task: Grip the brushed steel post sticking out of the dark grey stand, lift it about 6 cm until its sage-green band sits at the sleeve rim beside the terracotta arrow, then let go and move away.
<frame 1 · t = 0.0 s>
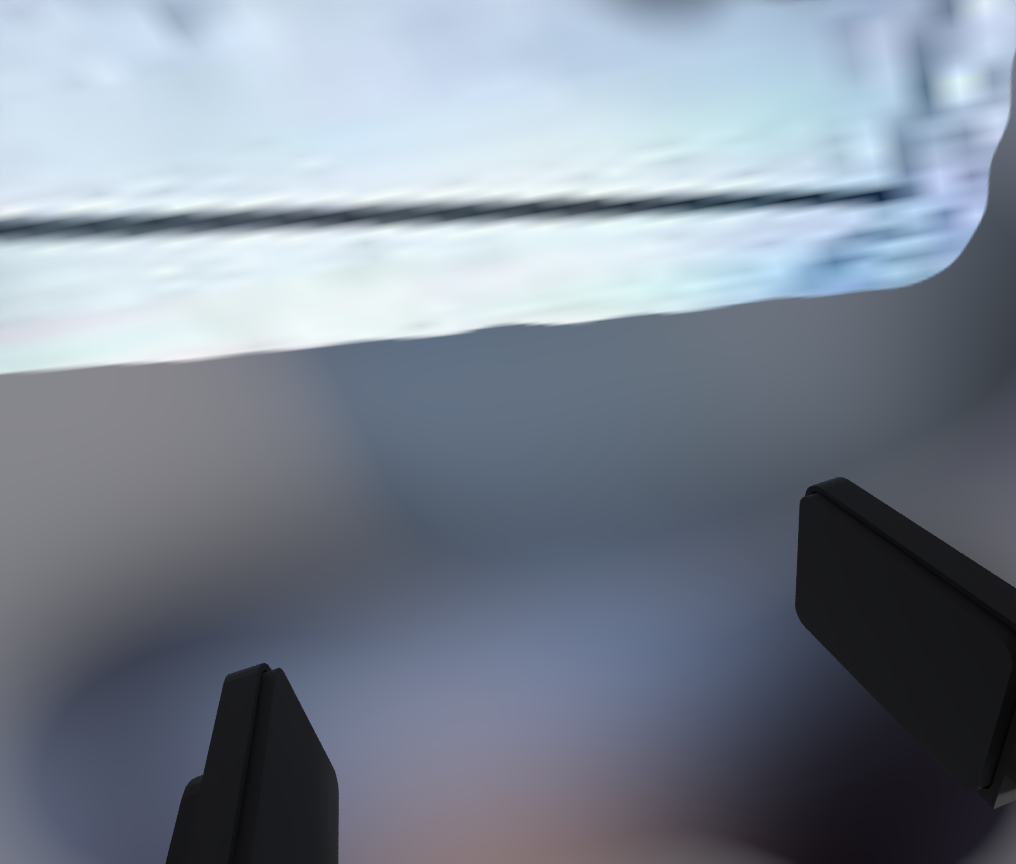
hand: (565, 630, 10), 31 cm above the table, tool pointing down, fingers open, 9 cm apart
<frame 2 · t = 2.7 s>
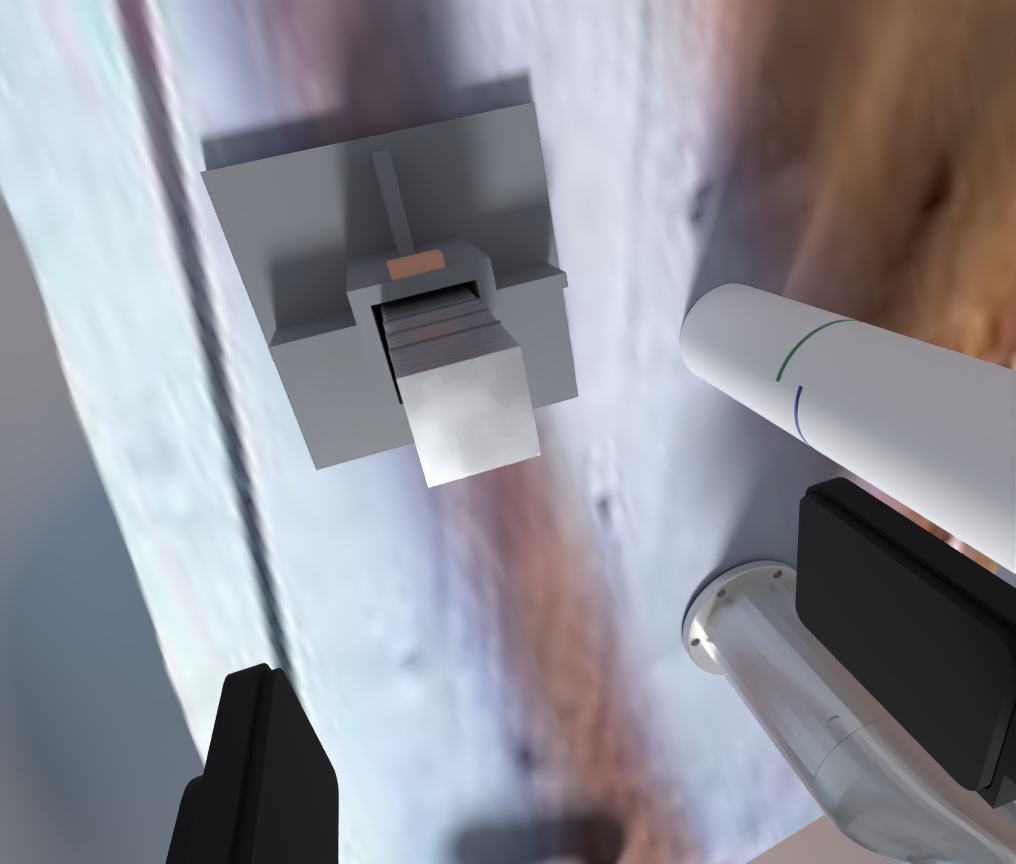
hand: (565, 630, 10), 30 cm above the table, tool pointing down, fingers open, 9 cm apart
steel post: (437, 343, 28), point 11 cm above the table, slide at 0.0 cm
cylindrical container: (723, 332, 44), on the table
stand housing: (414, 295, 37), on the table
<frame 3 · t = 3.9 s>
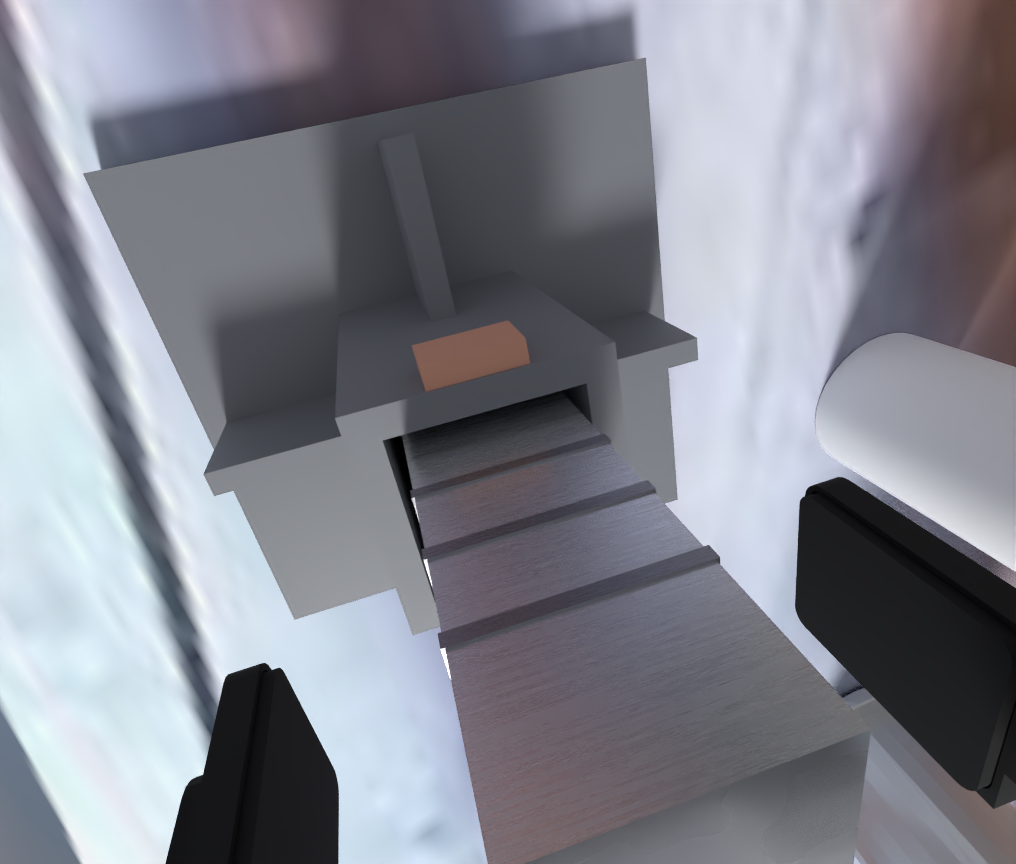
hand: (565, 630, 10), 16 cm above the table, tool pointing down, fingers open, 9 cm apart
steel post: (506, 498, 15), point 11 cm above the table, slide at 0.0 cm
cylindrical container: (873, 399, 31), on the table
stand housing: (442, 361, 24), on the table
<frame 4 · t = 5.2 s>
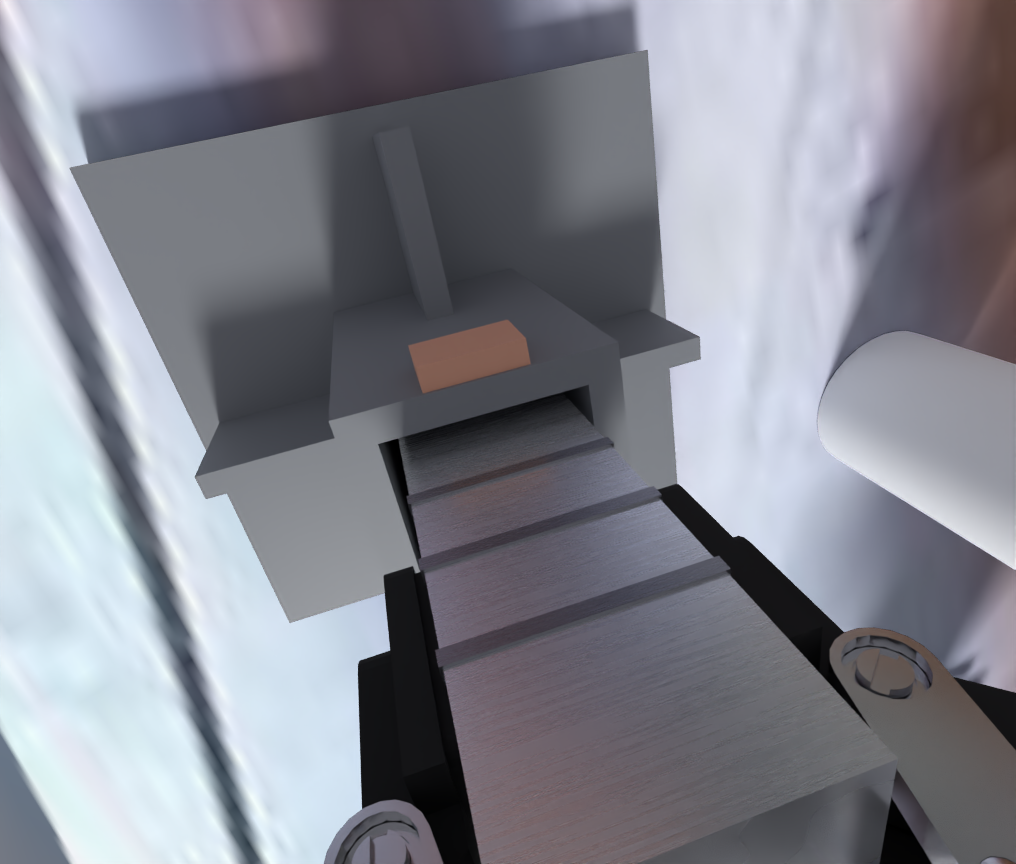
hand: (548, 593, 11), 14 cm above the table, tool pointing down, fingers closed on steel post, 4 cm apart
steel post: (506, 502, 14), point 11 cm above the table, slide at 0.0 cm, touching gripper
cylindrical container: (876, 398, 31), on the table
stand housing: (439, 360, 24), on the table
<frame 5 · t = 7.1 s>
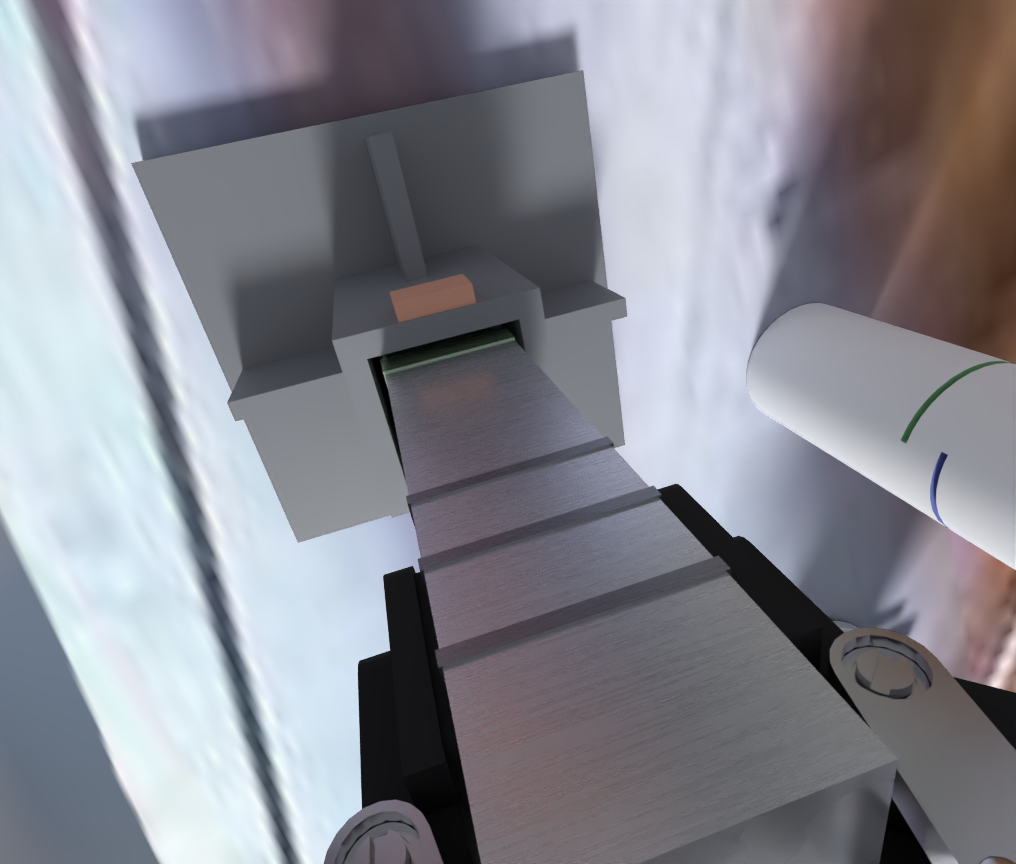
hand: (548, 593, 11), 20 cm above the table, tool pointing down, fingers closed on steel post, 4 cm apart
steel post: (505, 502, 14), point 17 cm above the table, slide at 5.9 cm, touching gripper
cylindrical container: (798, 362, 36), on the table
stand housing: (421, 322, 29), on the table
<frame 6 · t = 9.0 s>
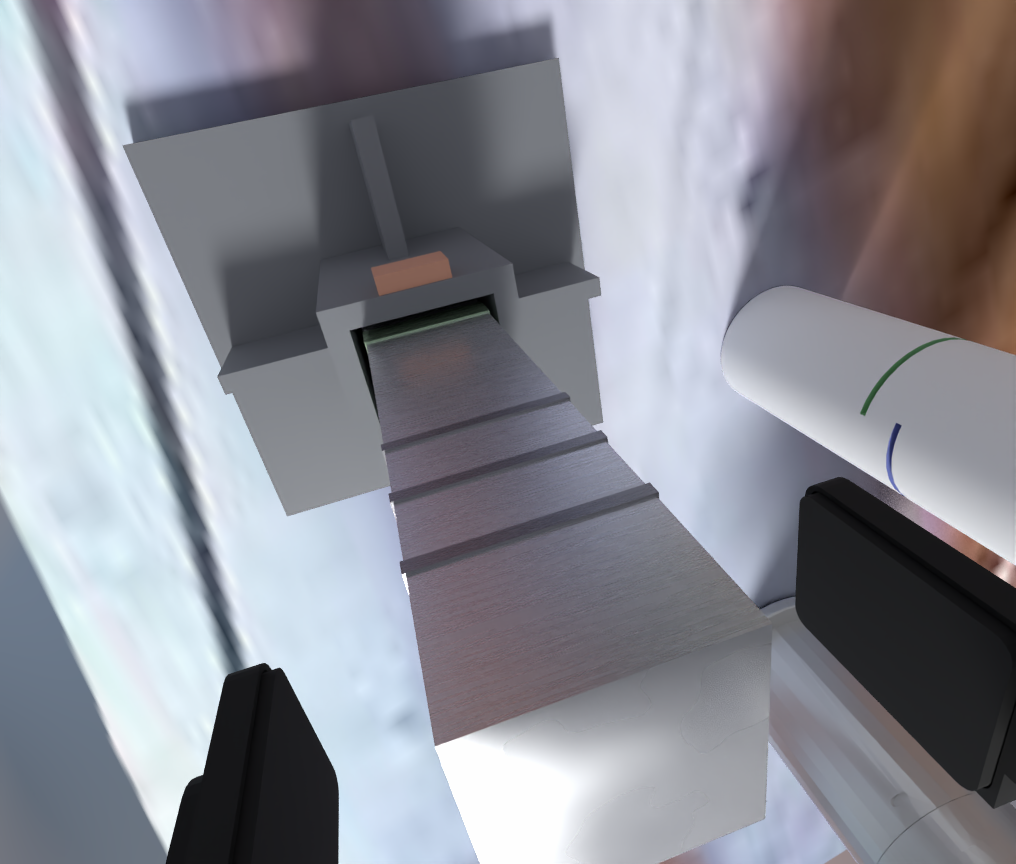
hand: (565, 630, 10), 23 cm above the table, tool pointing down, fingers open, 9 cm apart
steel post: (476, 458, 15), point 17 cm above the table, slide at 5.9 cm
cylindrical container: (770, 343, 37), on the table
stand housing: (405, 303, 30), on the table
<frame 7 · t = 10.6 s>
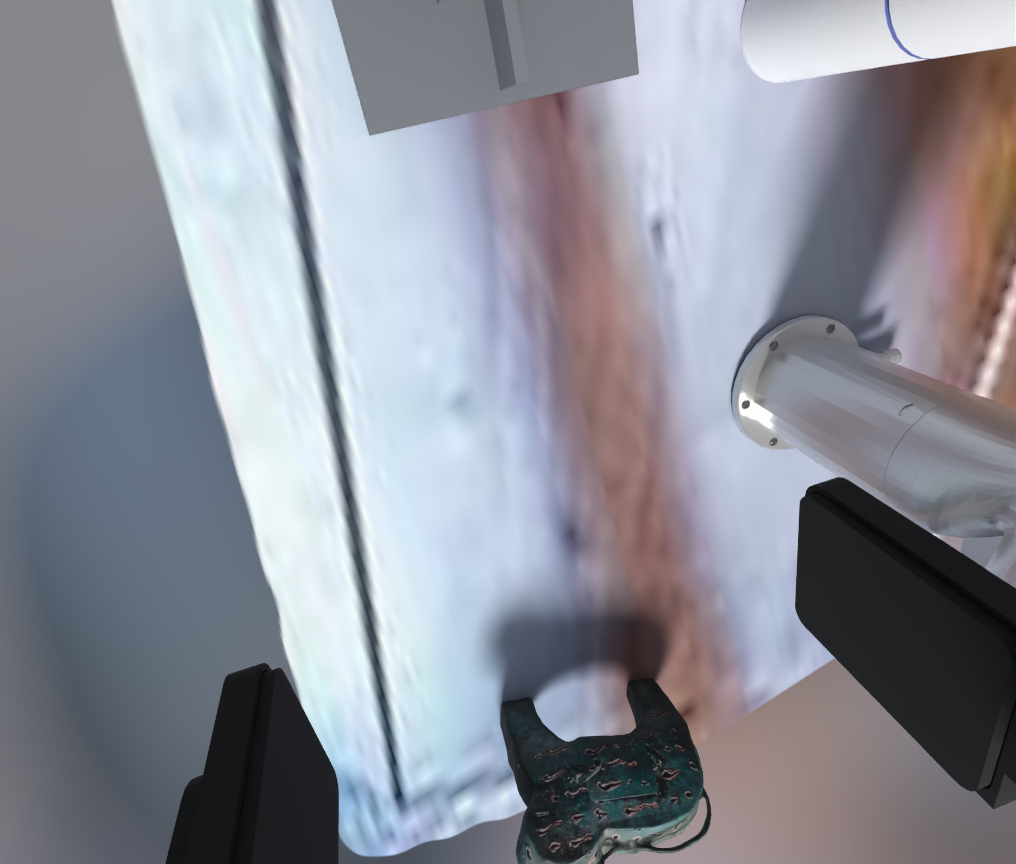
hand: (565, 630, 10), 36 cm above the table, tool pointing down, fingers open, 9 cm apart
cylindrical container: (784, 24, 42), on the table
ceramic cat: (573, 696, 66), on the table
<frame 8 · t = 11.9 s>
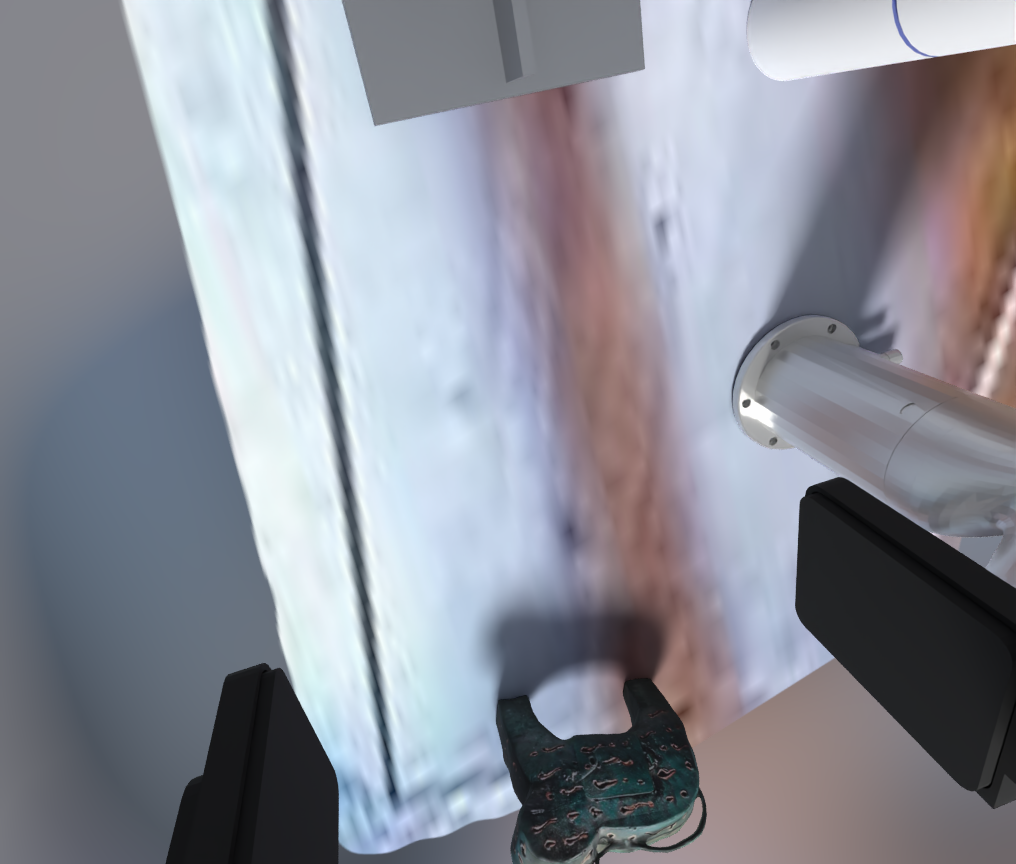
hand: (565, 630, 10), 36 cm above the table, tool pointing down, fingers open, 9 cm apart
cylindrical container: (790, 22, 42), on the table
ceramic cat: (570, 695, 65), on the table
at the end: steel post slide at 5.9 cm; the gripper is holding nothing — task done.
